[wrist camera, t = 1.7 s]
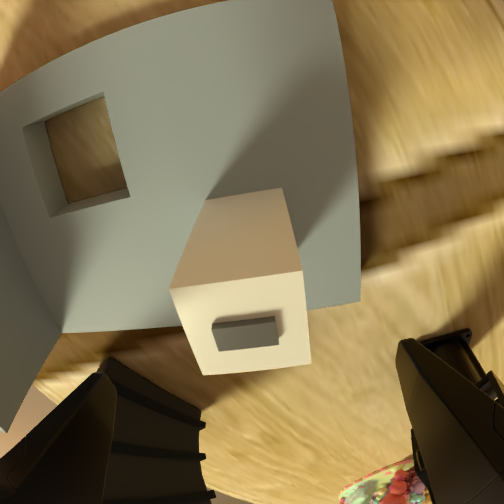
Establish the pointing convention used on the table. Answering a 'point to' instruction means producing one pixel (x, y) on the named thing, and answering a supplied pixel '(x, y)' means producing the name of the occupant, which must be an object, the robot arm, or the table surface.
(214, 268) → the block
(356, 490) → the candy landscape model
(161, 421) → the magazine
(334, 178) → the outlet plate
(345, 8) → the table surface
